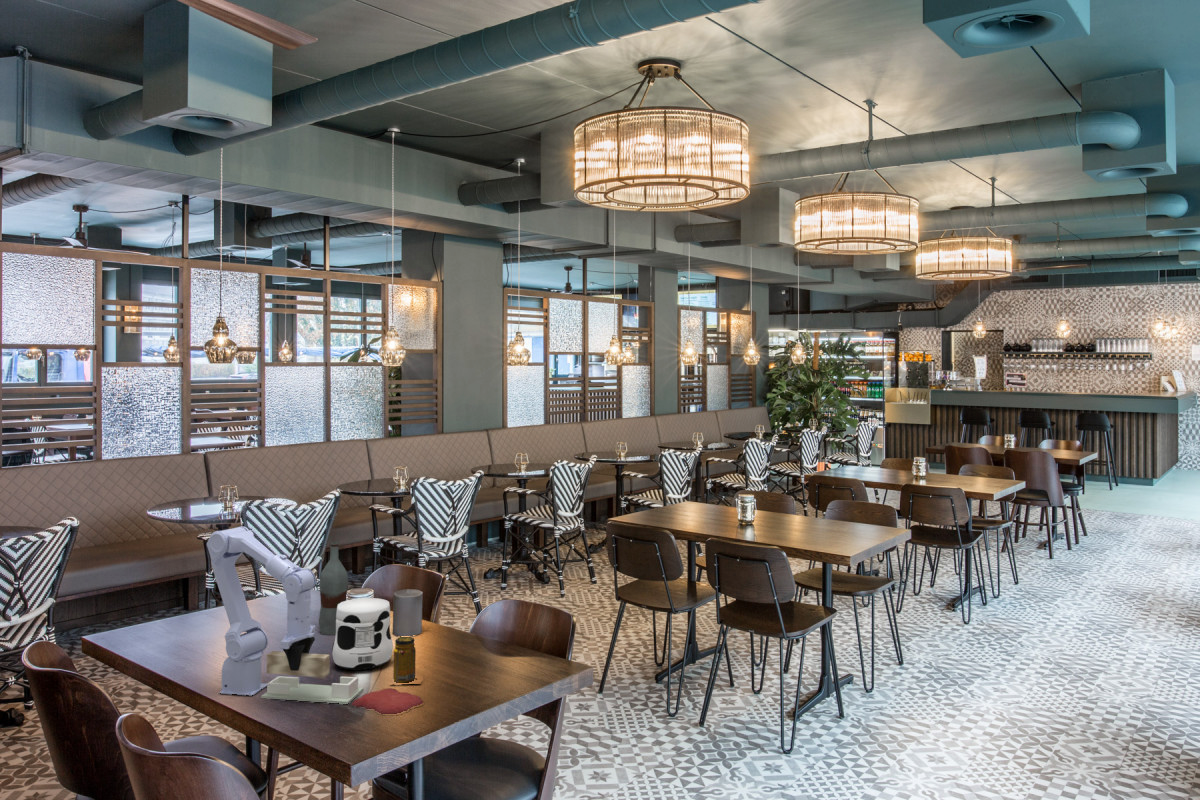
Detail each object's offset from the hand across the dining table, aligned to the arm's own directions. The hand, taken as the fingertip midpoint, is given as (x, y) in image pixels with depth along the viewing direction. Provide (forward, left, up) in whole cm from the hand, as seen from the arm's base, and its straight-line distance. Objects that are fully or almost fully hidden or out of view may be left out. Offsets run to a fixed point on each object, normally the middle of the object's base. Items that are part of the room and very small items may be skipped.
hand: (298, 667), depth 210 cm
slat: (0, 0, -2) cm, 2 cm away
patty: (+25, +2, -9) cm, 26 cm away
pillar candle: (+7, +61, -9) cm, 62 cm away
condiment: (+23, +18, -9) cm, 31 cm away
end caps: (+2, +4, -8) cm, 10 cm away
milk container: (+5, +29, -9) cm, 31 cm away
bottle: (-18, +58, -9) cm, 61 cm away
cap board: (+2, +4, -8) cm, 10 cm away
